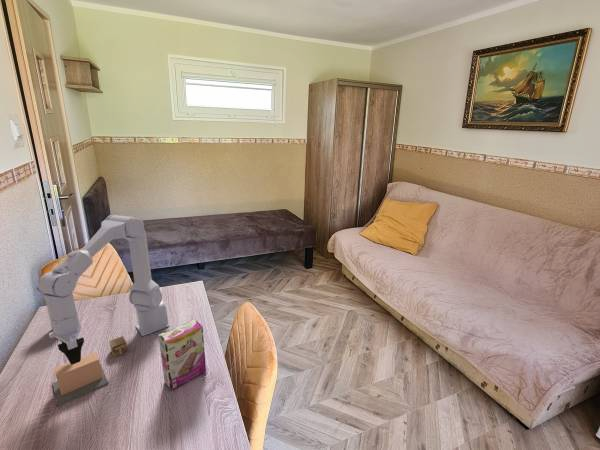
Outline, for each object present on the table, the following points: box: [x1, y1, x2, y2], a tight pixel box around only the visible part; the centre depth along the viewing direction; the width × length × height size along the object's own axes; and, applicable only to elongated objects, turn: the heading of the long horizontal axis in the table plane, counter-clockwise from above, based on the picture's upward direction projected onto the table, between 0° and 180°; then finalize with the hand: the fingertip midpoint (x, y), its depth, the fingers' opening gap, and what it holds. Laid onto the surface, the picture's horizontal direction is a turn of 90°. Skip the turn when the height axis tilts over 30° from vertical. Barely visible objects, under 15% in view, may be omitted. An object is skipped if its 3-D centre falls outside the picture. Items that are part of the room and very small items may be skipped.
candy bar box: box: [158, 319, 207, 392], centre depth 94 cm, size 11×5×16 cm, turn 134°
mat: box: [52, 363, 109, 407], centre depth 93 cm, size 12×10×1 cm
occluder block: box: [54, 351, 103, 396], centre depth 92 cm, size 10×4×6 cm, turn 131°
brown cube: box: [109, 335, 129, 358], centre depth 106 cm, size 4×4×4 cm
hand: (74, 357), depth 90 cm, fingers open, 5 cm apart
